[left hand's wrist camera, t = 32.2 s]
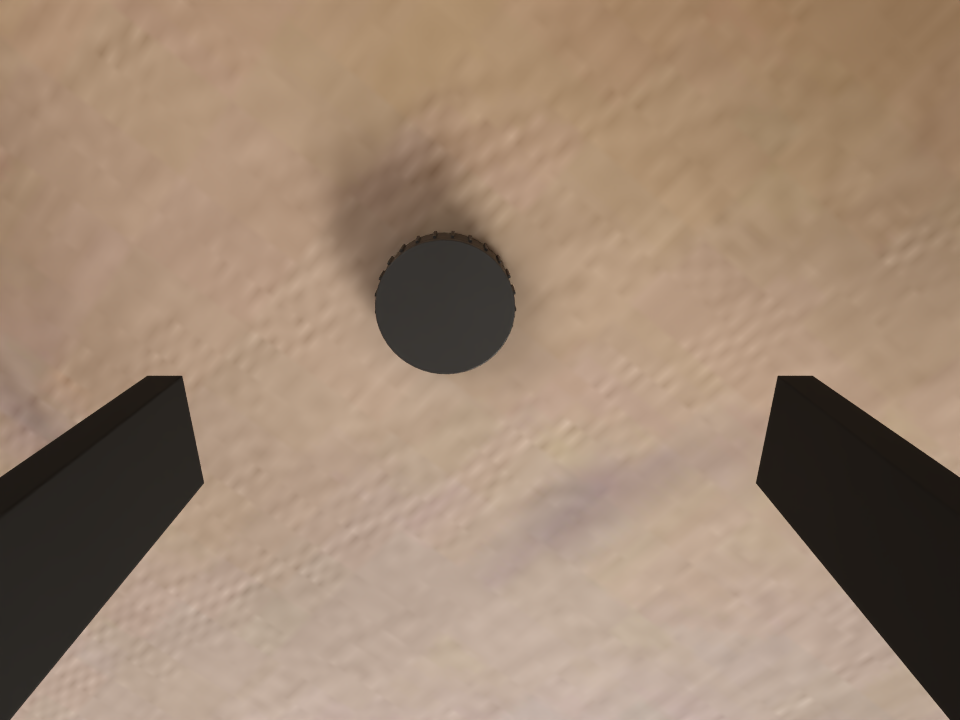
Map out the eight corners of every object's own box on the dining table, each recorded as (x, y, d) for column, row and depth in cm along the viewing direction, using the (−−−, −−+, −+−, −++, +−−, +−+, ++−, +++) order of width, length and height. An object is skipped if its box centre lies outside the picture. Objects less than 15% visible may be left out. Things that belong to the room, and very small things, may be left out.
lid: (494, 373, 23) (496, 389, 21) (367, 345, 22) (361, 360, 21) (529, 249, 21) (534, 257, 20) (392, 215, 20) (387, 221, 19)
